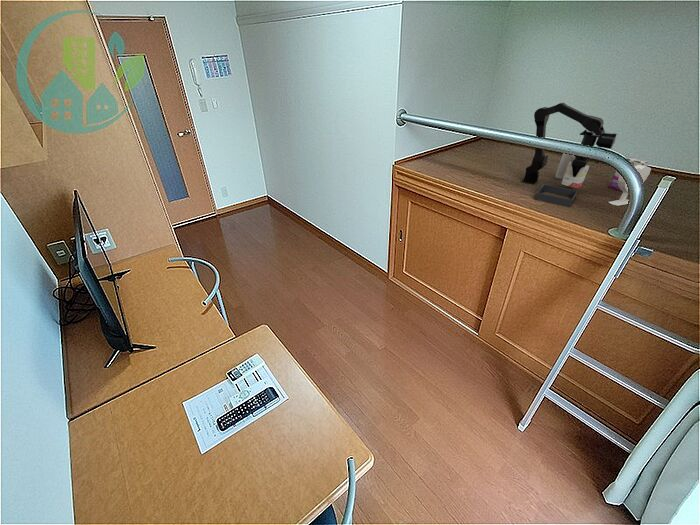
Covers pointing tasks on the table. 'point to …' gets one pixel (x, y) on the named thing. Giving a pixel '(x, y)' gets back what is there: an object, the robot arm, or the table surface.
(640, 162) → the candy bar box
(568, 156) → the travel mug
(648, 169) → the heart sculpture
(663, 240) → the table surface
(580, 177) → the ink box
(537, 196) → the dark grey tray frame
